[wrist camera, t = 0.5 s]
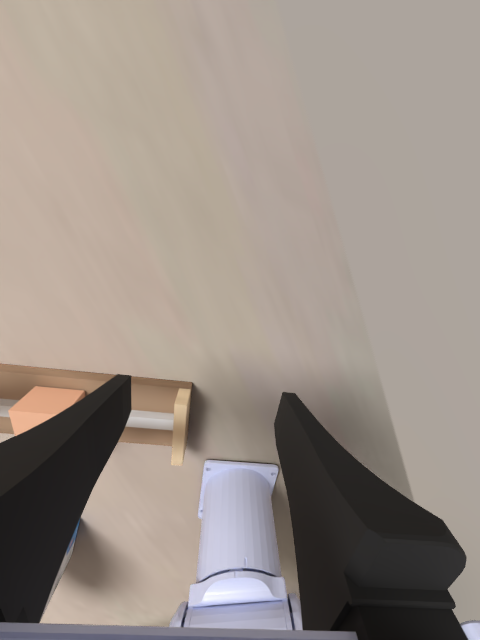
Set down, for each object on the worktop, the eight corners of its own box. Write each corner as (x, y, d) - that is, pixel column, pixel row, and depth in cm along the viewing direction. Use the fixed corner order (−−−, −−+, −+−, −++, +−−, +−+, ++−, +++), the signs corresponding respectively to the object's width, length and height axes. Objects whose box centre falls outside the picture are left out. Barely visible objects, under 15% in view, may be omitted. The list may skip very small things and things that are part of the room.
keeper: (89, 432, 24) (71, 459, 21) (44, 428, 23) (20, 456, 21) (84, 390, 22) (64, 415, 19) (35, 386, 22) (8, 410, 19)
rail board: (187, 438, 26) (179, 481, 22) (-69, 418, 24) (-132, 461, 20) (192, 382, 23) (183, 419, 19) (-96, 354, 21) (-175, 388, 17)
